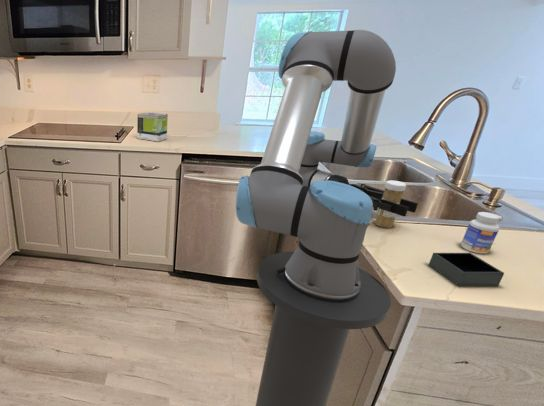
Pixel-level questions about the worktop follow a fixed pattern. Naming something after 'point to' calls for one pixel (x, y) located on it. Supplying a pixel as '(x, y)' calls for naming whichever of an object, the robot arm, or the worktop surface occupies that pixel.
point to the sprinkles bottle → (393, 195)
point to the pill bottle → (481, 233)
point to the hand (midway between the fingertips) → (411, 209)
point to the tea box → (152, 126)
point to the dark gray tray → (466, 269)
